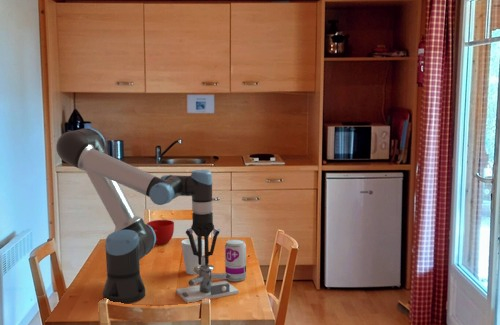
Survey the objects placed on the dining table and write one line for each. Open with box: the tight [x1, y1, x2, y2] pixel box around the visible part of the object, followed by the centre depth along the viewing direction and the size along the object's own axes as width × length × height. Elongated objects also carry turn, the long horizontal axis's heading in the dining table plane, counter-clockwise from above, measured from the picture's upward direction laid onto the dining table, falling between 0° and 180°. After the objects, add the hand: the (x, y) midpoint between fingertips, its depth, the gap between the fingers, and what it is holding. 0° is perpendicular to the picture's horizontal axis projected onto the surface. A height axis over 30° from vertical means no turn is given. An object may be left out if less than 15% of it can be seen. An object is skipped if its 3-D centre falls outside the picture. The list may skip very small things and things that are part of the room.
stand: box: [175, 279, 240, 304], centre depth 209 cm, size 20×13×4 cm, turn 117°
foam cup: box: [180, 237, 205, 276], centre depth 231 cm, size 10×9×13 cm
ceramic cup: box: [146, 219, 175, 246], centre depth 271 cm, size 13×17×10 cm
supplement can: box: [224, 238, 247, 282], centre depth 223 cm, size 8×8×15 cm
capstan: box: [188, 264, 230, 293], centre depth 209 cm, size 16×14×9 cm
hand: (203, 272), depth 214 cm, fingers closed
